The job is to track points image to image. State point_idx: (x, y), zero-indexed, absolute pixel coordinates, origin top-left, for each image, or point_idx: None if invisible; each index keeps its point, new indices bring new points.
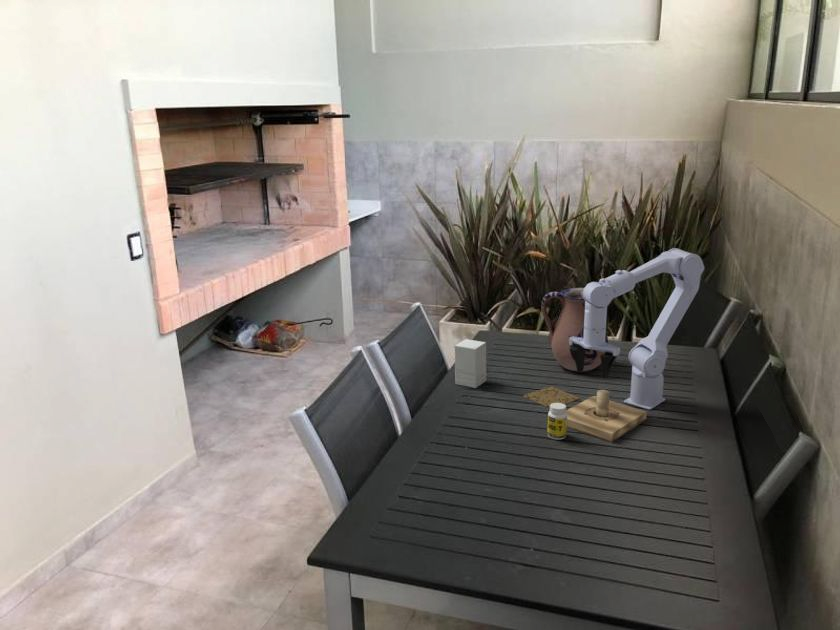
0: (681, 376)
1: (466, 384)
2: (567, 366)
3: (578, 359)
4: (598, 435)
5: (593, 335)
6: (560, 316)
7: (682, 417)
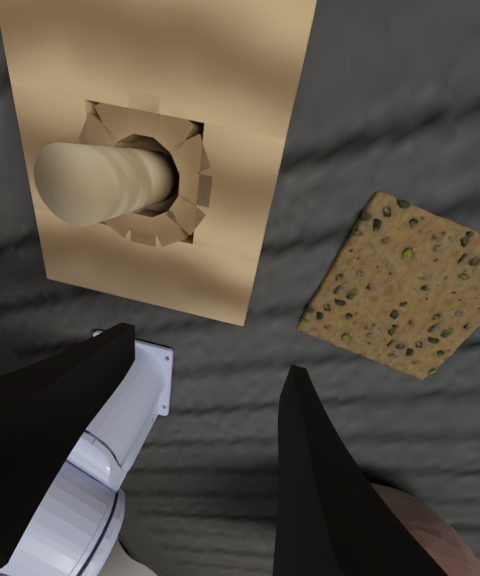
0: (143, 497)
1: None
2: (397, 494)
3: (304, 449)
4: None
5: None
6: None
7: (22, 323)
